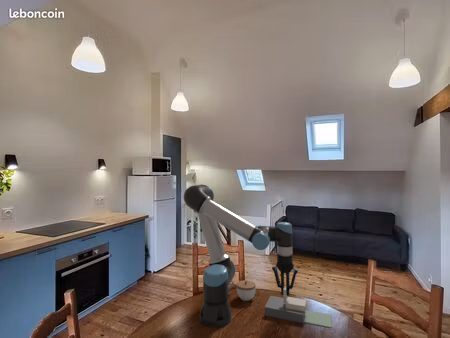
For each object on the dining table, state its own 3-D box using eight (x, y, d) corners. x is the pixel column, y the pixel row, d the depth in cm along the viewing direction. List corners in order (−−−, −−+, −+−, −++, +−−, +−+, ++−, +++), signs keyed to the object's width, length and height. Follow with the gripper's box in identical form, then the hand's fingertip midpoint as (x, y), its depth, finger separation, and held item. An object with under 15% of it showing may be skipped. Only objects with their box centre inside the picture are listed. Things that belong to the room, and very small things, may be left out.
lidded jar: (253, 304, 138) (253, 286, 138) (233, 301, 141) (233, 283, 142) (257, 295, 148) (257, 278, 149) (239, 292, 152) (238, 276, 152)
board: (264, 315, 127) (264, 306, 127) (270, 303, 139) (270, 295, 139) (303, 323, 120) (302, 314, 120) (305, 309, 132) (305, 301, 132)
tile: (285, 307, 126) (285, 302, 126) (288, 301, 133) (288, 296, 133) (305, 311, 123) (305, 306, 123) (306, 304, 129) (306, 299, 129)
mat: (303, 322, 121) (303, 321, 121) (305, 310, 131) (305, 310, 131) (331, 327, 116) (331, 327, 116) (331, 315, 126) (331, 314, 126)
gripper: (299, 253, 131) (299, 300, 131) (273, 250, 136) (274, 296, 136) (297, 257, 124) (298, 307, 124) (270, 254, 129) (270, 302, 129)
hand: (285, 301), depth 130 cm, fingers closed
